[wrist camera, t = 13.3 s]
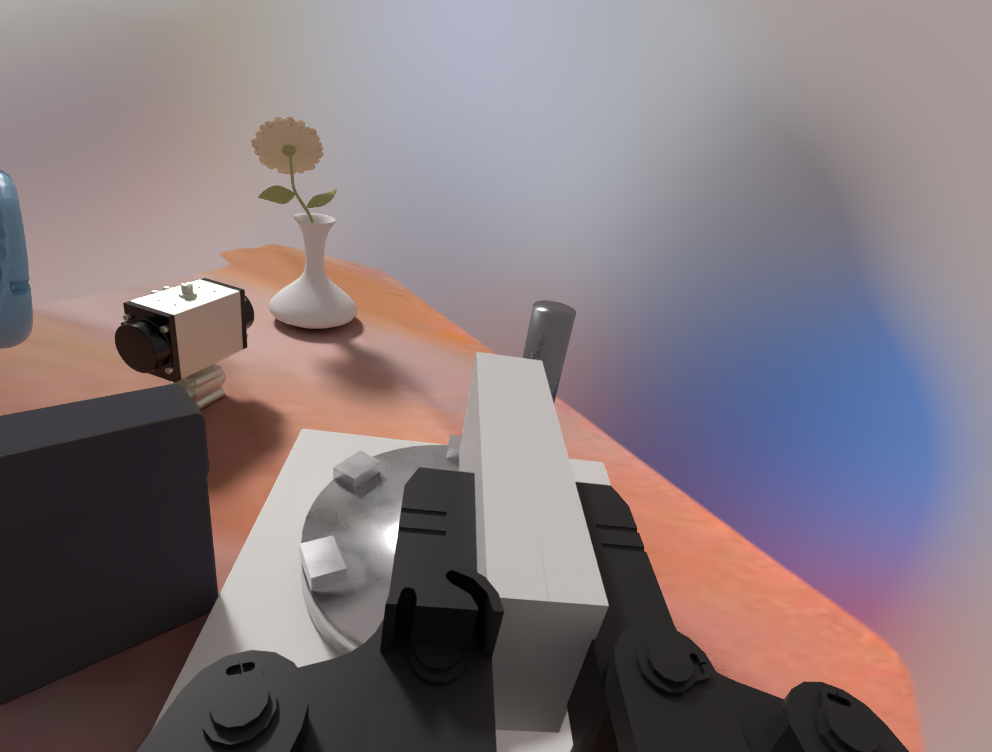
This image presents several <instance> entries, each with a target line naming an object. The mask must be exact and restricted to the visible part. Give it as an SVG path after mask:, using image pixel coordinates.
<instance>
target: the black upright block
mask: <svg viewBox="0 0 992 752" xmlns="http://www.w3.org/2000/svg"><path fill="white" fill-rule="evenodd" d="M208 472H209V462H208V451H207V440H206V429H205V420H204V416H203V415H202V413H201V412H200V410H199V409H198V407H197V406H196V404H195V403H194V401H193V400H192V399H191V397H190V396H189V394H188V393H187V391H186V390H185V388H184V387H183V386H182V385H180V384H170V385H165V386H159V387H154V388H148V389H143V390H138V391H132V392H127V393H121V394H116V395H111V396H105V397H100V398H95V399H89V400H84V401H78V402H73V403H68V404H62V405H57V406H52V407H46V408H41V409H35V410H30V411H25V412H19V413H14V414H9V415H3V416H0V704H2V703H5V702H7V701H9V700H12V699H14V698H16V697H19V696H21V695H23V694H25V693H28V692H30V691H32V690H34V689H37V688H39V687H41V686H43V685H46V684H48V683H50V682H53V681H55V680H57V679H59V678H62V677H64V676H66V675H68V674H71V673H73V672H75V671H77V670H80V669H82V668H84V667H87V666H89V665H91V664H93V663H96V662H98V661H100V660H102V659H105V658H107V657H109V656H112V655H114V654H116V653H118V652H121V651H123V650H125V649H127V648H130V647H132V646H134V645H136V644H139V643H141V642H143V641H146V640H148V639H150V638H152V637H155V636H157V635H159V634H161V633H164V632H166V631H168V630H170V629H173V628H175V627H177V626H180V625H182V624H184V623H186V622H189V621H191V620H193V619H195V618H198V617H200V616H202V615H204V614H207V613H209V612H211V610H212V608H213V606H214V604H215V602H216V600H217V598H218V588H217V578H216V568H215V557H214V547H213V536H212V526H211V516H210V505H209V495H208V485H207V476H208Z"/></svg>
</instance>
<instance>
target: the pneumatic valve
mask: <svg viewBox="0 0 992 752" xmlns="http://www.w3.org/2000/svg"><path fill="white" fill-rule="evenodd" d="M123 305H124V312H125V315H123V319H124V320H125V322H122V323H121V326H120V327H119V328H118V329H117V330H116V333H115V344H116V348H117V350H118V352H119V354H120V356H121V358H122V359H123V360H124V361H125V363H126V364H127V365H128V366H130V367H131V368H132V369H134V370H136V371H138V372H141V373H149V374H152V375H155V376H158V377H161V378H164V379H166V380H169V381H170V383H169V384H168V385H170V384H180V385H182V386H183V387H184V388H185V390H186V391H187V393H188V394H189V396H190V397H191V399H192V400H193V401H194V403H195V404H196V406H197V407H198V409H199V410H200V409H202V408H204V407H205V406H207V405H209V404H211V403H212V402H214V401H216V400H218V399H219V398H221V397H223V396H224V390H223V389H221V388H222V384H223V383H224V381H225V379H226V378H225V373H224V371H223V369H222V368H221V367H219V366H218V365H215V363H217V362H218V361H221V360H223V359H225V358H227V357H229V356H231V355H233V354H235V353H237V352H239V351H241V350H243V349H245V348H247V337H248V335H247V332H246V329H248V328H249V327H250V326H251V325H252V323H253V321H254V310H253V307H252V305H251V303H250V301H249V299H248V298H247V297H246V296H245V291H244V289H240V288H237V287H234V286H230V285H227V284H223V283H220V282H217V281H213V280H210V279H206V278H203V279H200V280H197V281H194V282H190V283H189V282H186V283H185V284H181V286H177V287H174V288H170V287H164V288H163V291H161V292H158V291H157V290H154V291H152V292H151V293H150V295H148V296H145V297H141V298H138V299H135V300H132V301H128V302H125V303H123Z"/></svg>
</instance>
